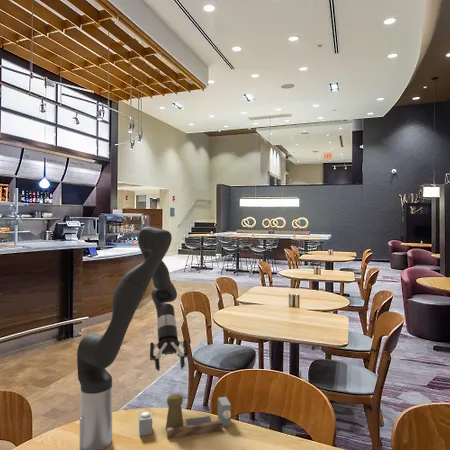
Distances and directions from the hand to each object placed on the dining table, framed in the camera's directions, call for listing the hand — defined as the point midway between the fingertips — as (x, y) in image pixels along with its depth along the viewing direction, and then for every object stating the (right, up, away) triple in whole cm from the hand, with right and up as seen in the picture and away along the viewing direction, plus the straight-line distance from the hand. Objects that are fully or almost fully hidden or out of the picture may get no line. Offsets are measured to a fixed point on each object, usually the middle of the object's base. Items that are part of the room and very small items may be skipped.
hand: (170, 369), depth 134 cm
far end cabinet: (+20, -15, -7) cm, 26 cm away
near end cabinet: (-6, -15, -13) cm, 21 cm away
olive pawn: (+3, -15, -12) cm, 20 cm away
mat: (+11, -15, -10) cm, 21 cm away
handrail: (+10, -15, -15) cm, 23 cm away
